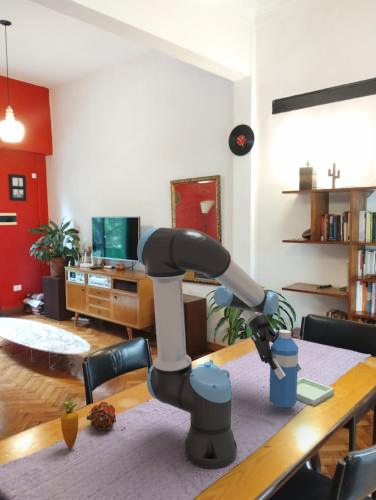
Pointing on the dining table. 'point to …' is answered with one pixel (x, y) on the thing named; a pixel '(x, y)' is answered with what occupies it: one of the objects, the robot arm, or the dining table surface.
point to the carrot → (69, 424)
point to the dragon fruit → (102, 416)
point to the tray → (312, 392)
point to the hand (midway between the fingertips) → (291, 373)
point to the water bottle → (287, 358)
